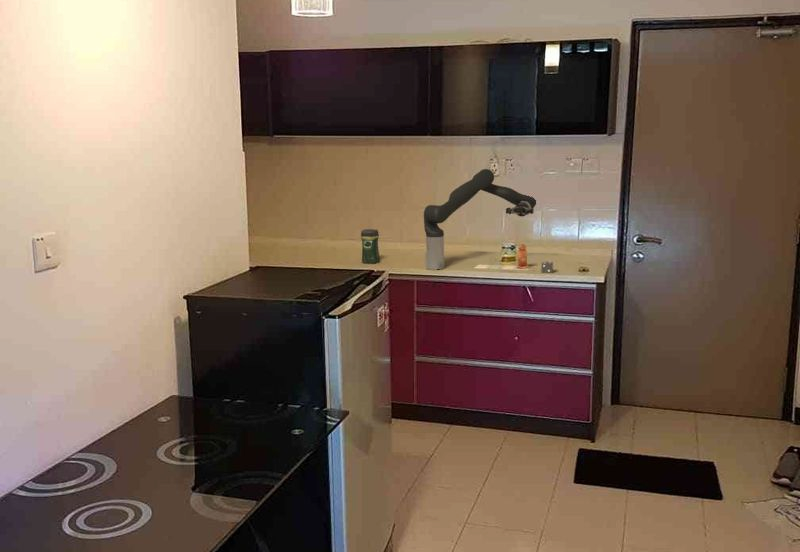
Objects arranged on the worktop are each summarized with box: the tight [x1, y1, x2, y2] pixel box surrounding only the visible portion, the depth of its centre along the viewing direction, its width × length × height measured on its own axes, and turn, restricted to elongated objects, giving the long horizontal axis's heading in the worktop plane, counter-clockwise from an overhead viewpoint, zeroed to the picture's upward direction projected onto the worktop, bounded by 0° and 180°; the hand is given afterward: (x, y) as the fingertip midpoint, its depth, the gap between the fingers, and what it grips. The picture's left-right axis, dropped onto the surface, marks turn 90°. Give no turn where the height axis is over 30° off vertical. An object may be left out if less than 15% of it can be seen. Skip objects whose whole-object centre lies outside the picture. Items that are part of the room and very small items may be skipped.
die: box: [541, 261, 554, 274], centre depth 385 cm, size 5×5×5 cm
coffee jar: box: [360, 228, 381, 264], centre depth 422 cm, size 10×8×19 cm
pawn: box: [516, 243, 530, 269], centre depth 389 cm, size 6×6×12 cm
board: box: [474, 264, 531, 271], centre depth 393 cm, size 29×12×2 cm, turn 72°
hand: (517, 212), depth 401 cm, fingers open, 8 cm apart
